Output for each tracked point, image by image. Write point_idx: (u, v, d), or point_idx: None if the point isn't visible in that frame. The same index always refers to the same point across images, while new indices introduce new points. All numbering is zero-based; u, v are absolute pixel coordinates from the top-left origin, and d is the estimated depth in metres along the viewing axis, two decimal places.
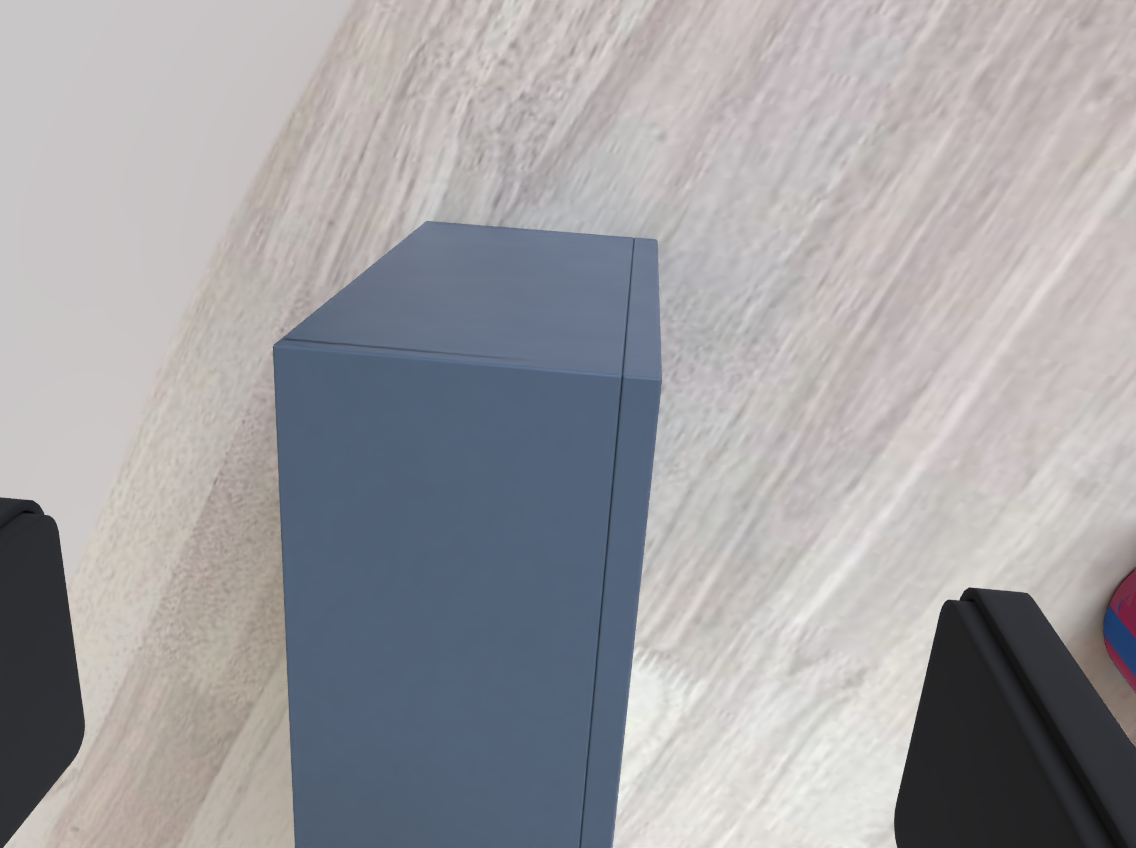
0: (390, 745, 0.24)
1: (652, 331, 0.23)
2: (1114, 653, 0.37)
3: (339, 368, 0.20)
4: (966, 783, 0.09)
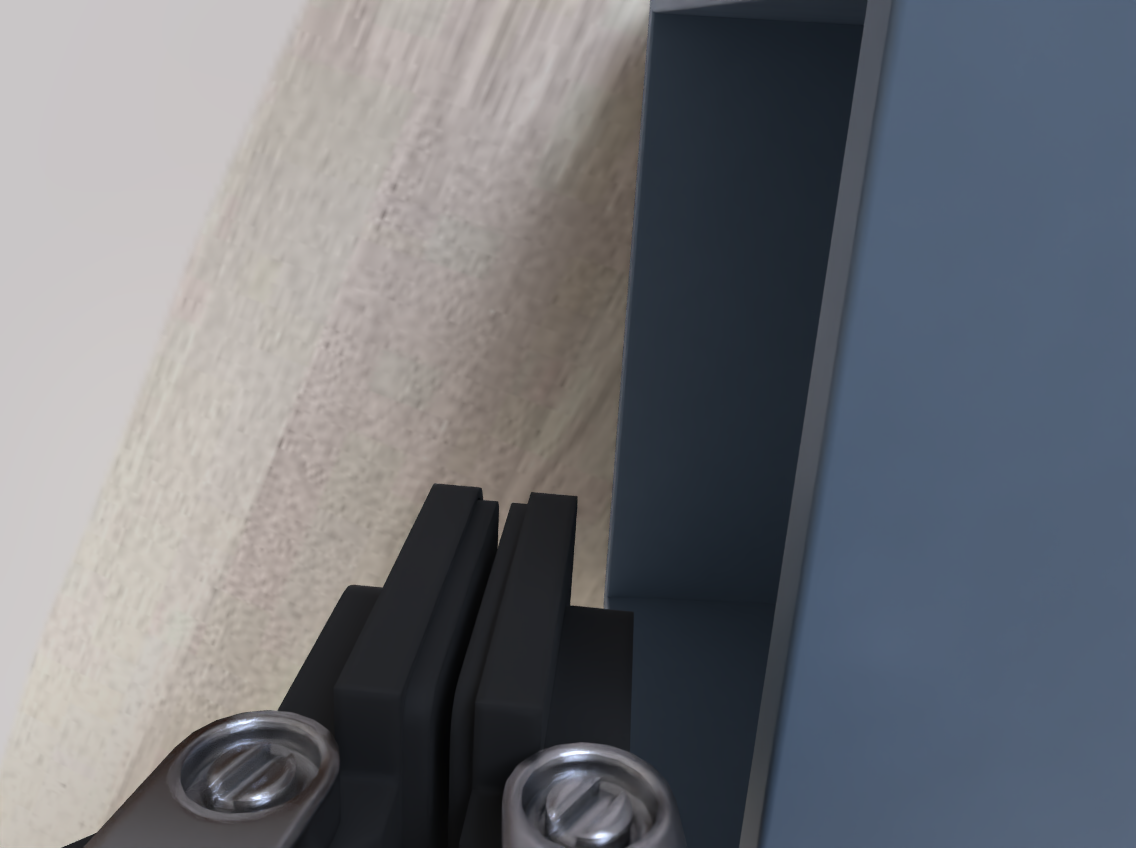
0: None
1: None
2: None
3: None
4: None
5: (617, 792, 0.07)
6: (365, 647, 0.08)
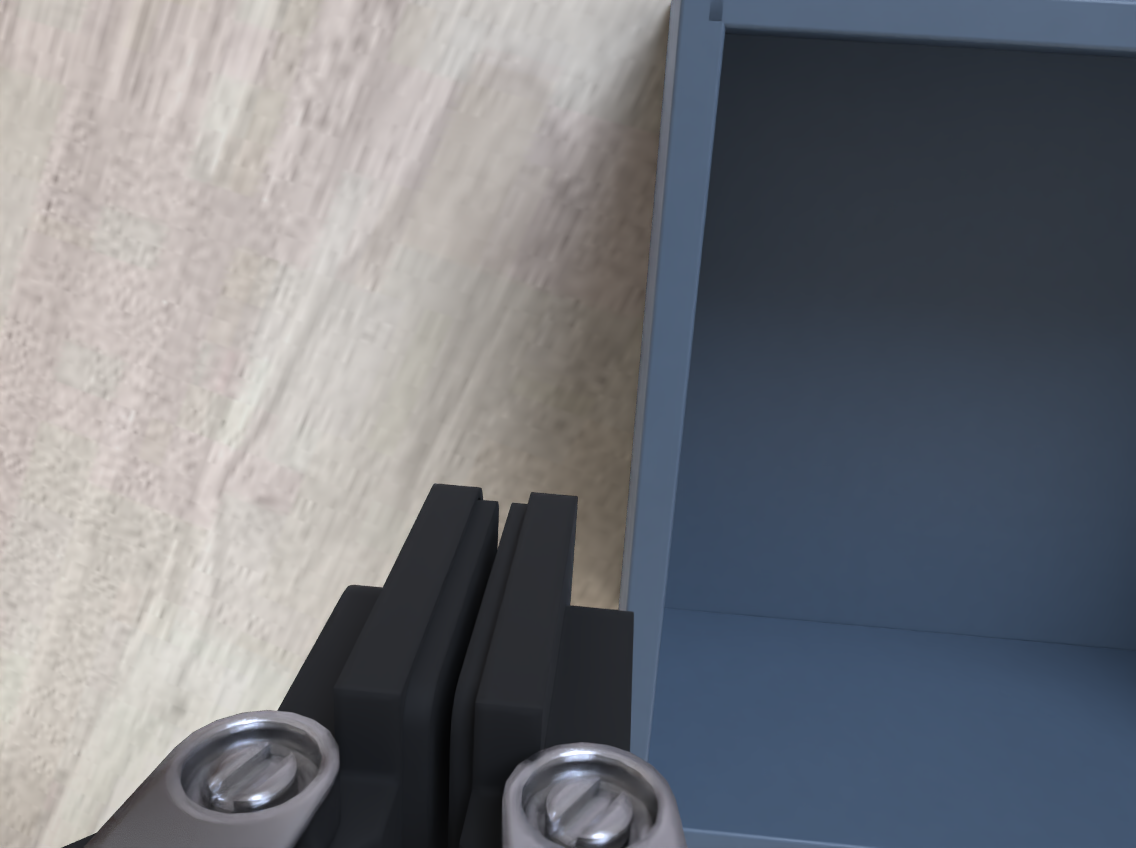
0: None
1: None
2: None
3: None
4: None
5: (617, 792, 0.07)
6: (365, 647, 0.08)
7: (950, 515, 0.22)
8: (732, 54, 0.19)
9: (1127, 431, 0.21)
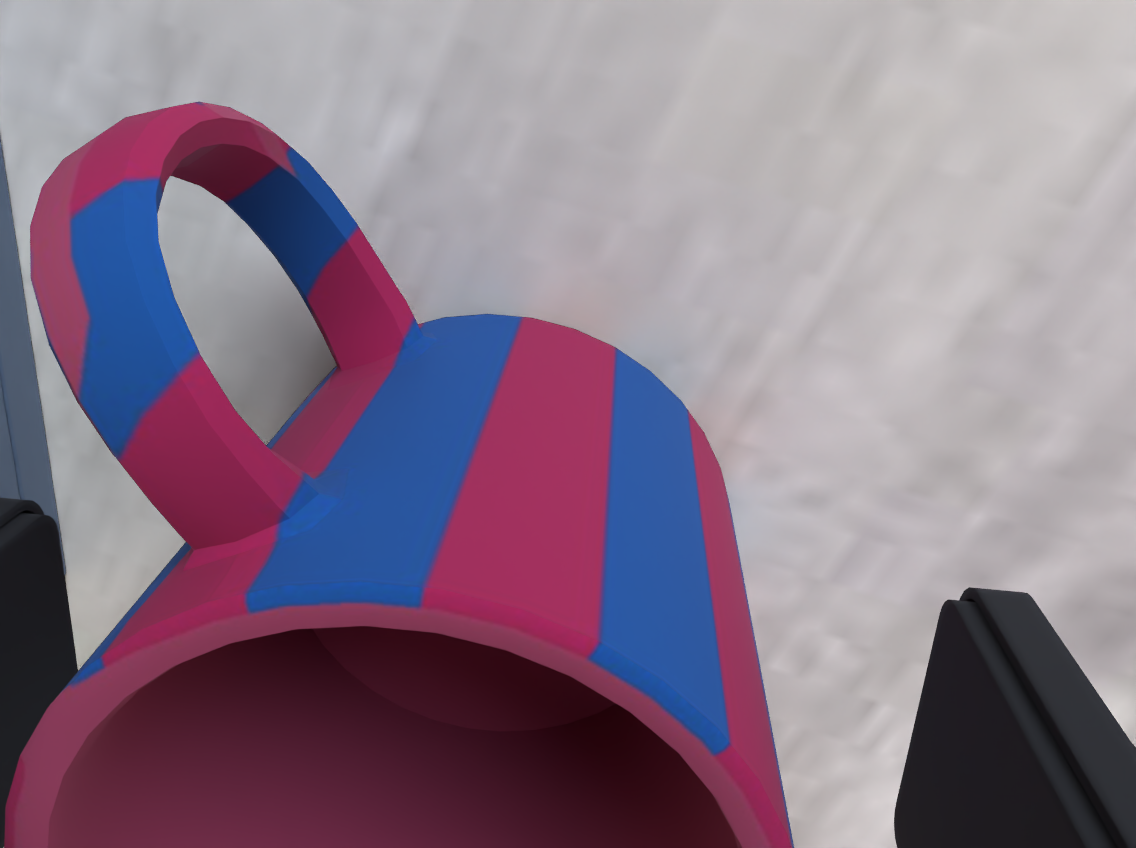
0: None
1: None
2: None
3: None
4: (966, 783, 0.09)
5: None
6: None
7: None
8: None
9: None
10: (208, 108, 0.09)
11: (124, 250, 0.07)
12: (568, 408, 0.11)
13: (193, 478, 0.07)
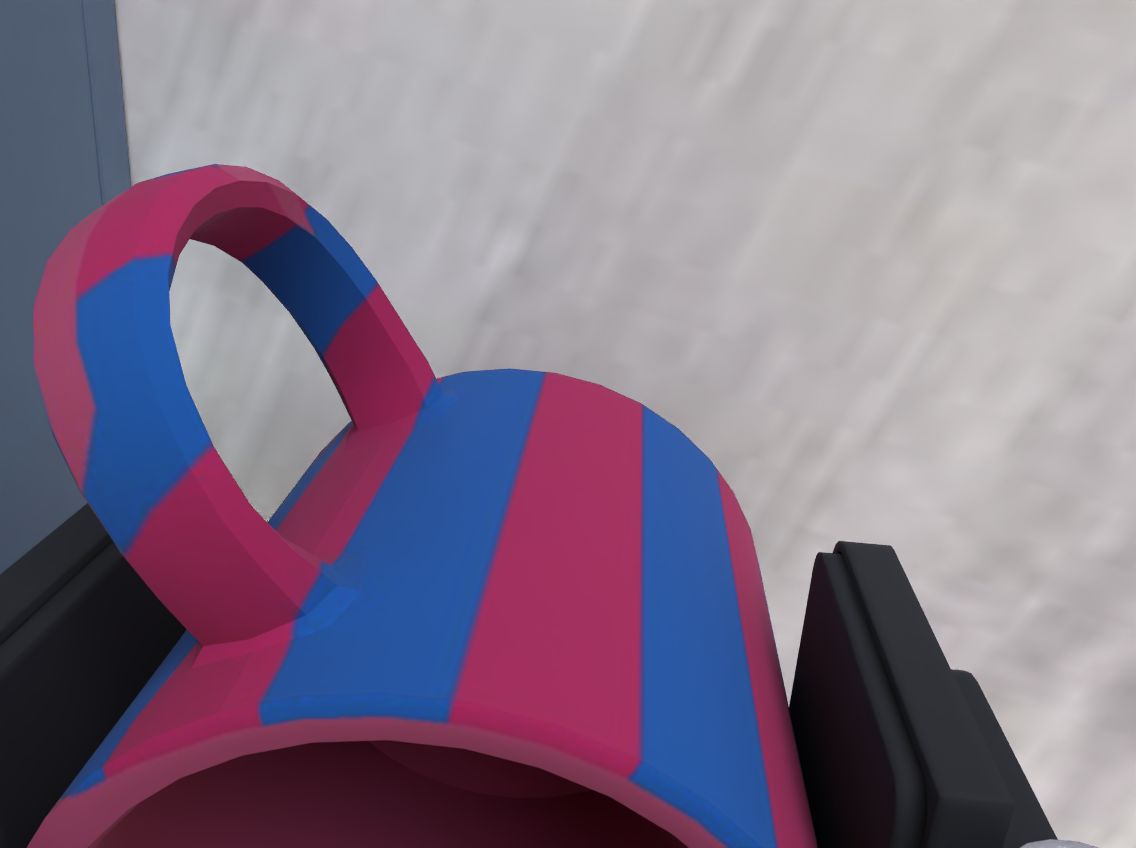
0: None
1: None
2: None
3: None
4: (823, 717, 0.09)
5: None
6: None
7: None
8: None
9: None
10: (224, 171, 0.08)
11: (133, 336, 0.06)
12: (597, 478, 0.10)
13: (204, 576, 0.07)
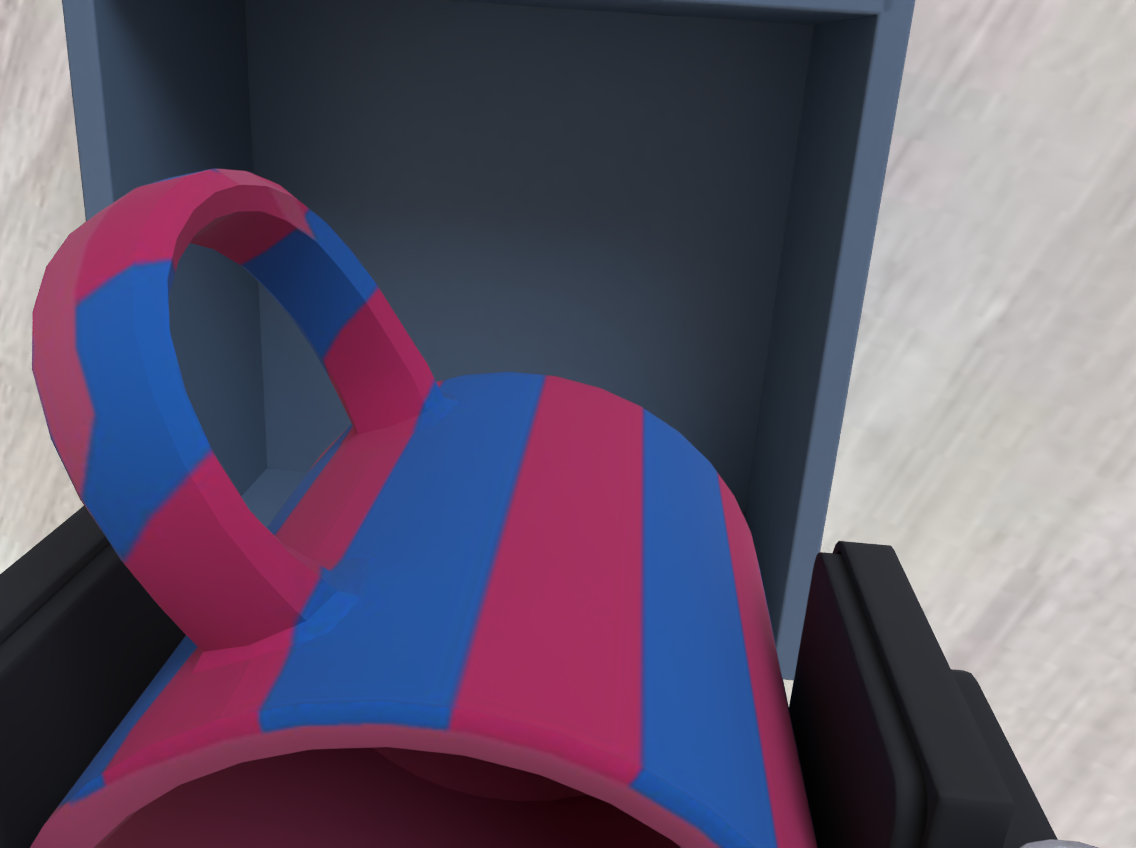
0: None
1: None
2: None
3: None
4: (824, 717, 0.09)
5: None
6: None
7: None
8: (271, 5, 0.24)
9: (625, 316, 0.27)
10: (224, 175, 0.08)
11: (133, 341, 0.06)
12: (597, 482, 0.10)
13: (204, 581, 0.07)
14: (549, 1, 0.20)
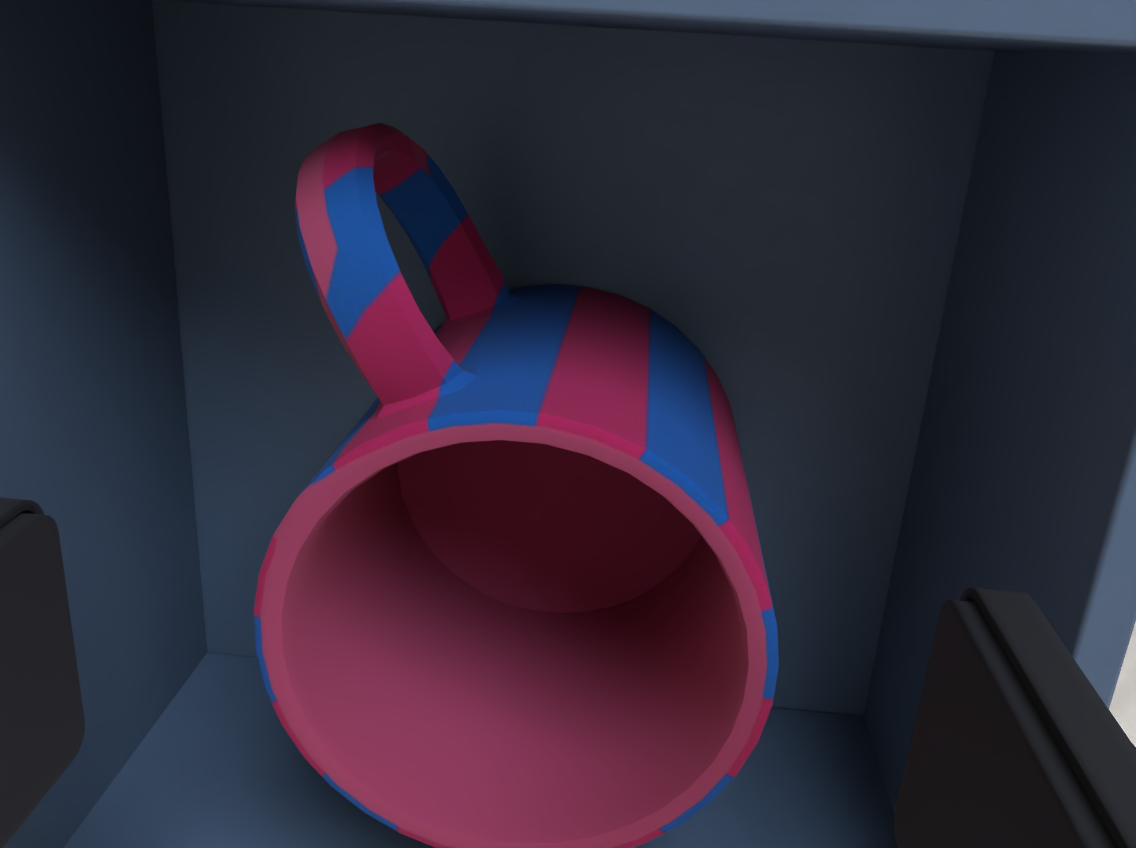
0: None
1: None
2: None
3: None
4: (966, 783, 0.09)
5: None
6: None
7: None
8: (193, 26, 0.17)
9: None
10: (387, 127, 0.13)
11: (359, 207, 0.12)
12: (618, 338, 0.15)
13: (391, 352, 0.12)
14: (614, 23, 0.13)
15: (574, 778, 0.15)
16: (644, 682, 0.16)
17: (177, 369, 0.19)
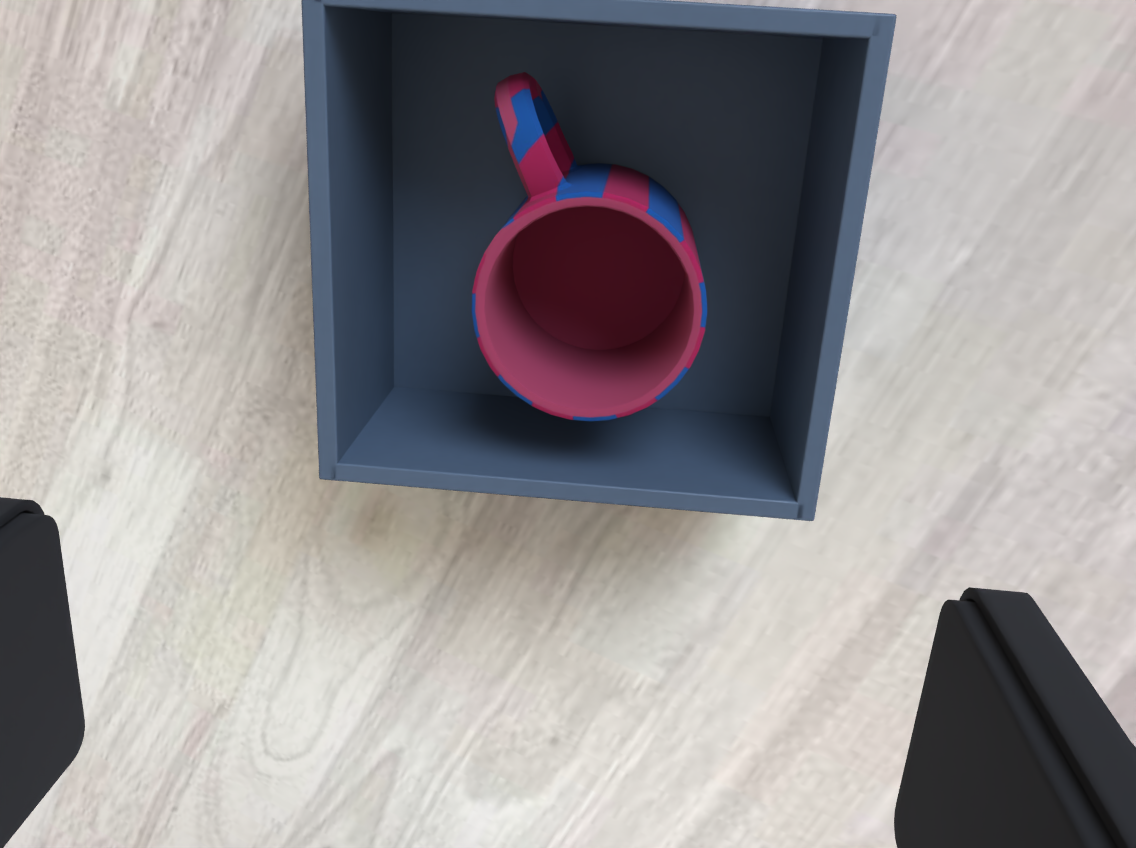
0: None
1: None
2: None
3: None
4: (966, 783, 0.09)
5: None
6: None
7: None
8: (412, 26, 0.32)
9: None
10: None
11: (526, 105, 0.27)
12: (634, 180, 0.31)
13: (538, 169, 0.28)
14: None
15: (613, 392, 0.30)
16: (646, 360, 0.32)
17: (391, 213, 0.34)
